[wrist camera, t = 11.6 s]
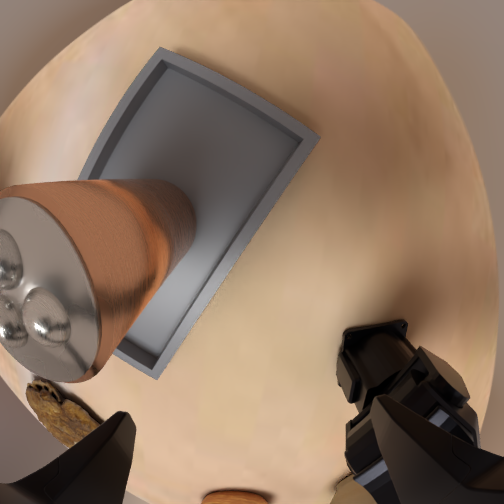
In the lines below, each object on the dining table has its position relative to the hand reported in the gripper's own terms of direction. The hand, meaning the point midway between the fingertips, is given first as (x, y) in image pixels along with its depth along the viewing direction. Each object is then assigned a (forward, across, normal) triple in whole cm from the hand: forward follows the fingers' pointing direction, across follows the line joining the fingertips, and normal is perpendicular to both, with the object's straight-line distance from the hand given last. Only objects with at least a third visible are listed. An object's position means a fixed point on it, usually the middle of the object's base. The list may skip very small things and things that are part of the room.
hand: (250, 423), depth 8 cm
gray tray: (+13, +6, -6) cm, 15 cm away
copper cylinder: (+12, +6, -5) cm, 15 cm away
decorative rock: (+14, +25, +18) cm, 34 cm away
